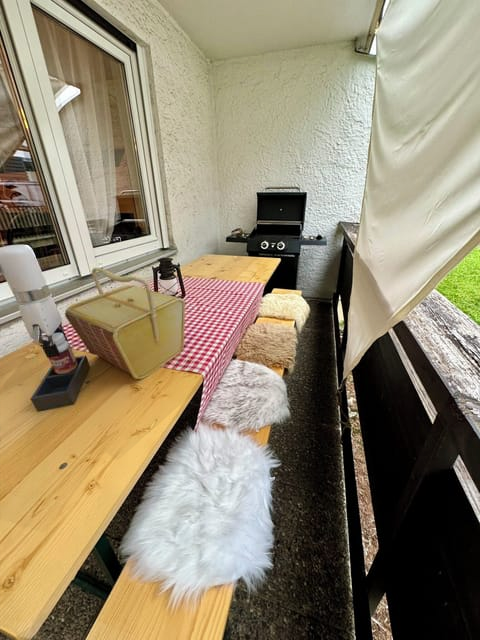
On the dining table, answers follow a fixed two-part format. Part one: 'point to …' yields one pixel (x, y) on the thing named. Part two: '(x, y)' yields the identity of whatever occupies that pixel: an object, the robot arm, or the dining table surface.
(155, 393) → the dining table surface
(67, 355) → the pill bottle
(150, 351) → the picnic basket
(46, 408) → the holder
